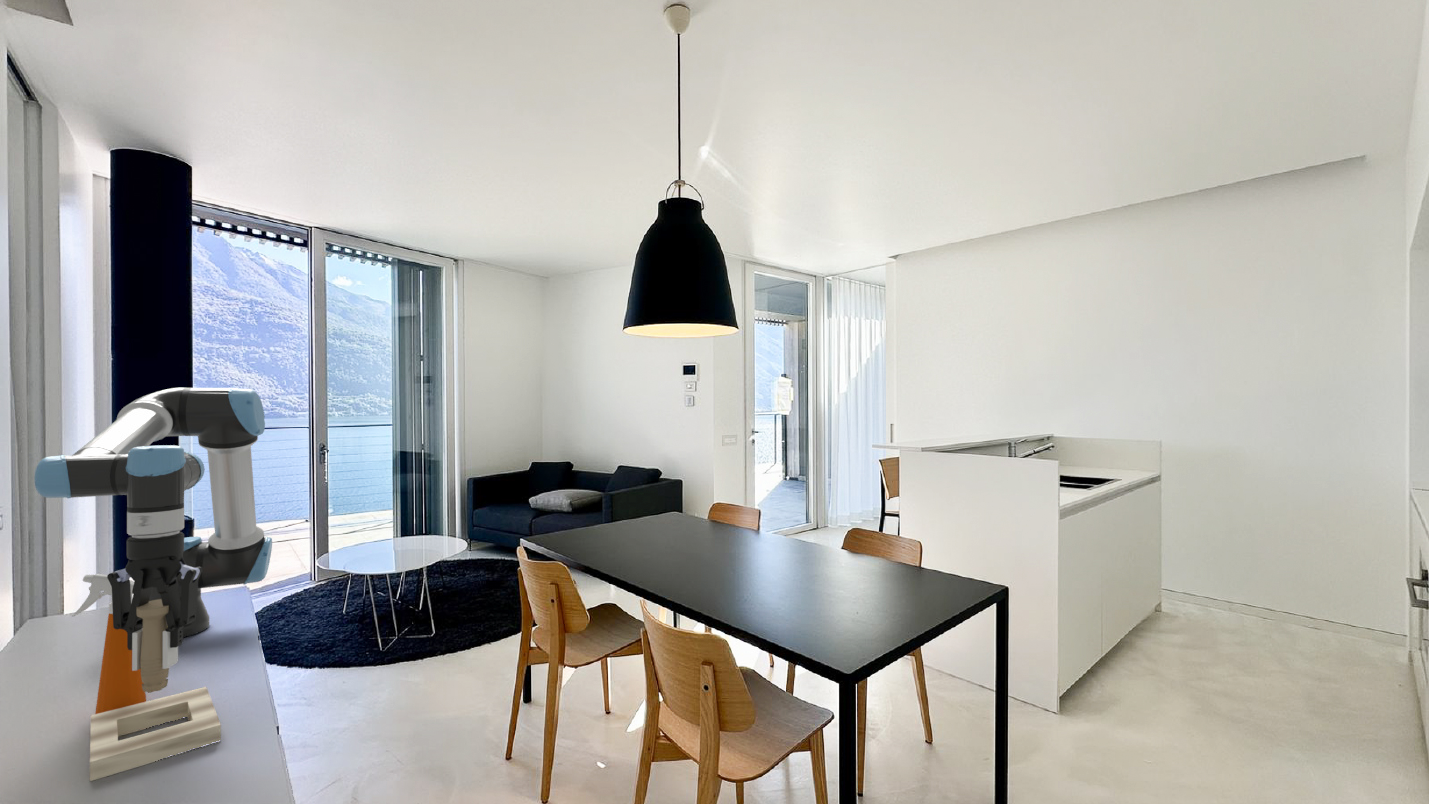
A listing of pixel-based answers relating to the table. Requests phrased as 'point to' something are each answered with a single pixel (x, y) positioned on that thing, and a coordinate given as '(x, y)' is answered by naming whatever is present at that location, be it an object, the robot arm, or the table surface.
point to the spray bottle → (114, 656)
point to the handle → (153, 645)
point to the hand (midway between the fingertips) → (155, 665)
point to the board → (153, 745)
